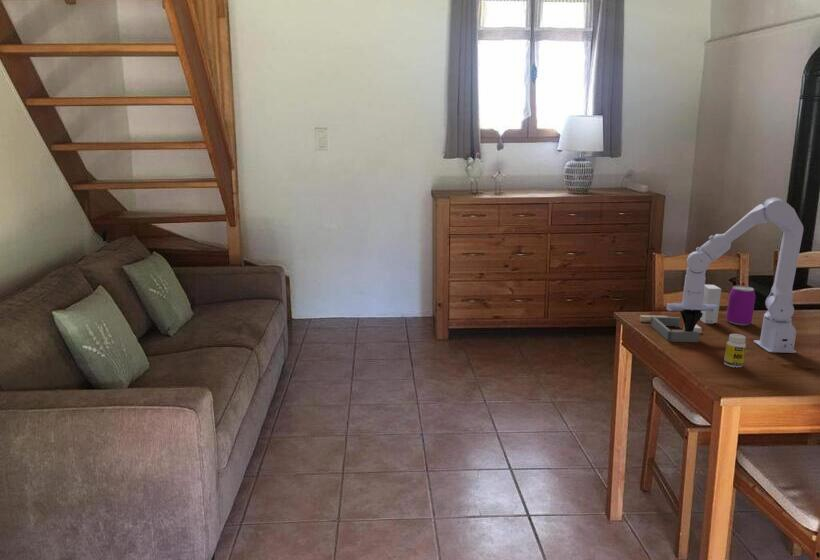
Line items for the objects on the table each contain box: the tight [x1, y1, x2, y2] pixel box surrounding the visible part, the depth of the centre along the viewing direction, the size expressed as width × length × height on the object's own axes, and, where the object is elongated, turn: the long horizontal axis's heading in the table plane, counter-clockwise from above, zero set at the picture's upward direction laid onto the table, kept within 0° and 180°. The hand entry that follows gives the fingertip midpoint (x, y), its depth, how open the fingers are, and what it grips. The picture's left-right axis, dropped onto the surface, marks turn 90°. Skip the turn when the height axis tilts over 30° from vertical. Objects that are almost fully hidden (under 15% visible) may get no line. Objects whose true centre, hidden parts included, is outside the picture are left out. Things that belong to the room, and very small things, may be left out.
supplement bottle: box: [723, 333, 747, 369], centre depth 176 cm, size 5×5×8 cm
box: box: [650, 316, 700, 343], centre depth 203 cm, size 16×9×3 cm, turn 179°
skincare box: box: [699, 284, 722, 324], centre depth 215 cm, size 6×4×12 cm
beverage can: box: [725, 285, 757, 327], centre depth 214 cm, size 8×8×12 cm
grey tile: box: [682, 323, 702, 334], centre depth 206 cm, size 4×4×2 cm
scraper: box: [638, 314, 669, 323], centre depth 215 cm, size 7×11×2 cm, turn 89°
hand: (688, 333), depth 200 cm, fingers closed
